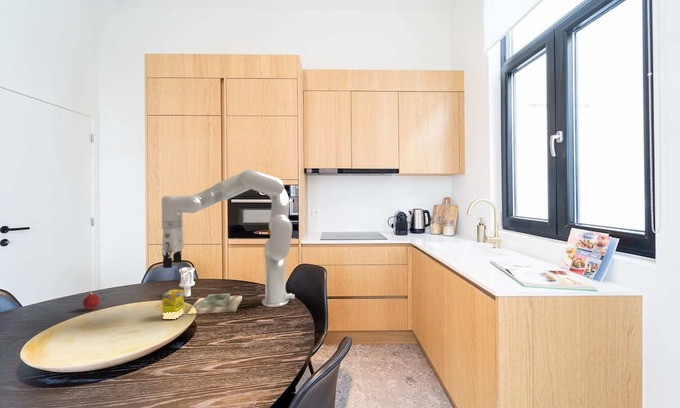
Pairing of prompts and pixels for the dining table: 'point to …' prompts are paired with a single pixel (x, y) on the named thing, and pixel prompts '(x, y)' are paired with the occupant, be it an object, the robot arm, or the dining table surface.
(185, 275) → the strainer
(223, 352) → the dining table surface
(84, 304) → the onion
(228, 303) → the grey flat piece
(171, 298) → the supplement box
